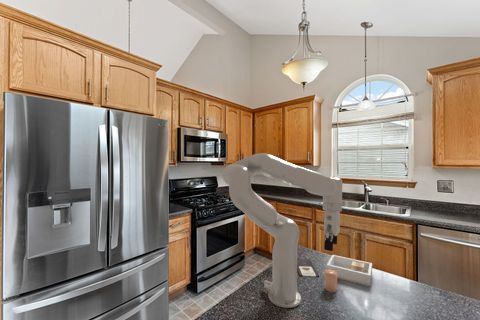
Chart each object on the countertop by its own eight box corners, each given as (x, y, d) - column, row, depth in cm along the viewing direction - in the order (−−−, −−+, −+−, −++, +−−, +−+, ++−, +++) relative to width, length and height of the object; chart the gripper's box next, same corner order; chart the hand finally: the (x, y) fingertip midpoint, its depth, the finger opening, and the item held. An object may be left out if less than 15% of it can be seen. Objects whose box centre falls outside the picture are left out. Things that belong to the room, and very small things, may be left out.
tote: (326, 275, 107) (326, 264, 107) (332, 264, 119) (332, 254, 119) (370, 287, 97) (370, 275, 97) (372, 273, 109) (372, 263, 109)
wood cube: (351, 275, 106) (351, 264, 106) (352, 271, 110) (352, 261, 110) (363, 278, 103) (363, 267, 103) (364, 274, 107) (364, 263, 107)
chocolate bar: (309, 259, 124) (319, 275, 106) (309, 260, 124) (319, 277, 106) (293, 258, 124) (299, 275, 106) (293, 260, 124) (299, 277, 106)
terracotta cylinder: (323, 289, 95) (323, 273, 95) (326, 284, 99) (326, 268, 99) (336, 293, 92) (336, 276, 92) (338, 288, 97) (338, 271, 97)
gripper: (338, 210, 87) (336, 255, 87) (344, 205, 102) (343, 243, 101) (318, 208, 91) (316, 250, 91) (327, 202, 106) (326, 239, 106)
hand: (330, 246), depth 96 cm, fingers open, 9 cm apart
